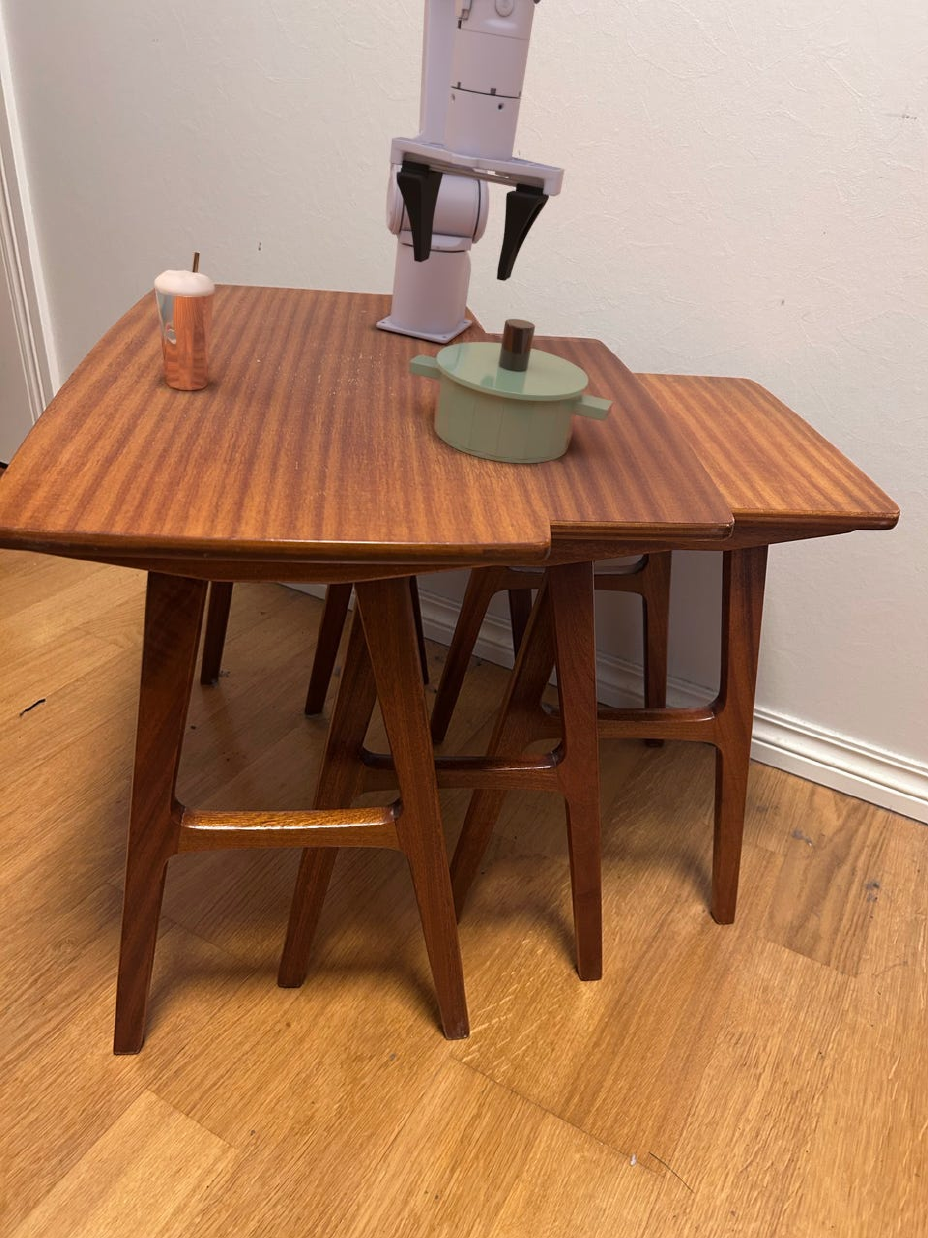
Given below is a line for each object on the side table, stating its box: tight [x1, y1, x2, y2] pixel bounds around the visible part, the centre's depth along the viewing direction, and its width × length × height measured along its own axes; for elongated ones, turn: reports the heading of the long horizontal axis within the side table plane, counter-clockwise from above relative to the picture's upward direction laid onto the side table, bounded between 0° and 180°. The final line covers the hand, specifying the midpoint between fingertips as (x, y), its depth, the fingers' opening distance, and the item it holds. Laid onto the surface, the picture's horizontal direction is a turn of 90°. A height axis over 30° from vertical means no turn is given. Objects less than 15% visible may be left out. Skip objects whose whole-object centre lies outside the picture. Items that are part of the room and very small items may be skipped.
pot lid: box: [435, 318, 589, 401], centre depth 73 cm, size 12×12×5 cm
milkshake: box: [153, 251, 216, 391], centre depth 75 cm, size 4×5×10 cm
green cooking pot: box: [407, 354, 613, 464], centre depth 76 cm, size 11×17×5 cm
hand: (462, 268), depth 81 cm, fingers open, 7 cm apart
